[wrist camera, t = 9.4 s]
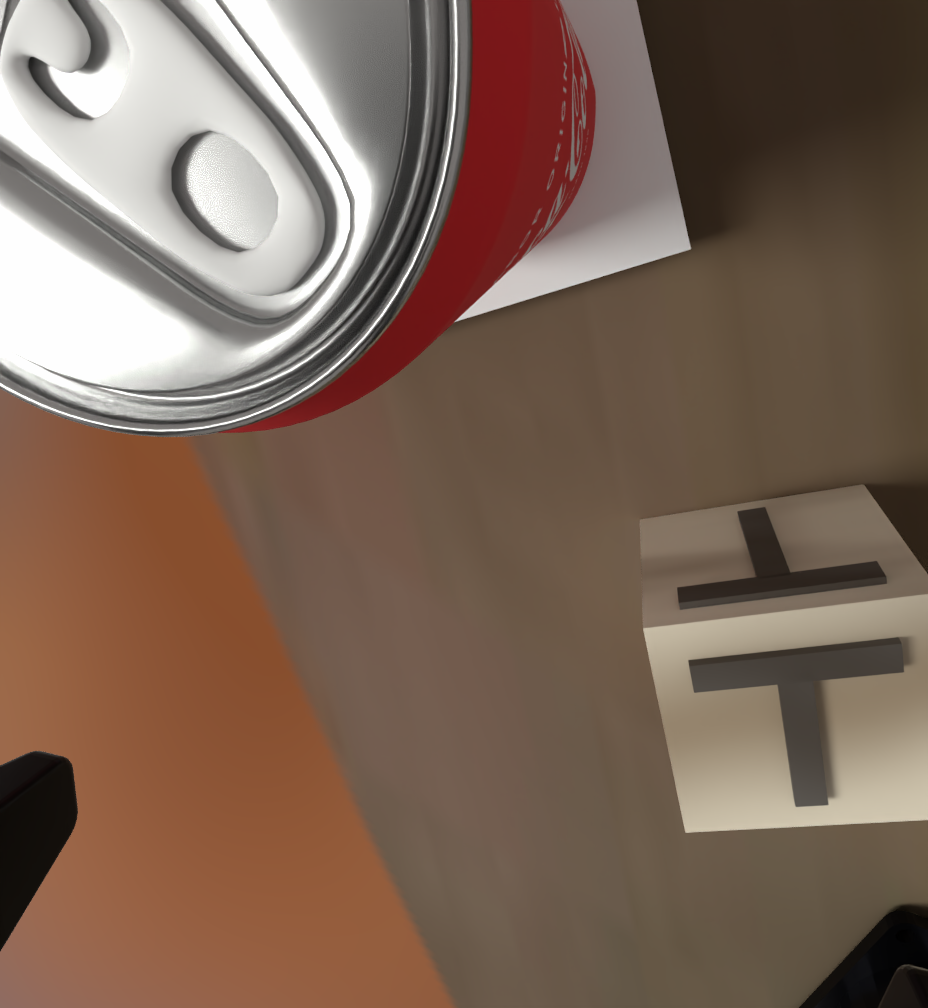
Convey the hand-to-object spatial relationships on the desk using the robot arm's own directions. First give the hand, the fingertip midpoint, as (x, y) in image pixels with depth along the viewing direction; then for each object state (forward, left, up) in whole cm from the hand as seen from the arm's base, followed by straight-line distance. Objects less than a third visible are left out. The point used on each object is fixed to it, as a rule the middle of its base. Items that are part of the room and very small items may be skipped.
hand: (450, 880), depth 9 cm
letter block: (-1, -6, -12) cm, 13 cm away
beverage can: (+6, +4, -11) cm, 14 cm away
